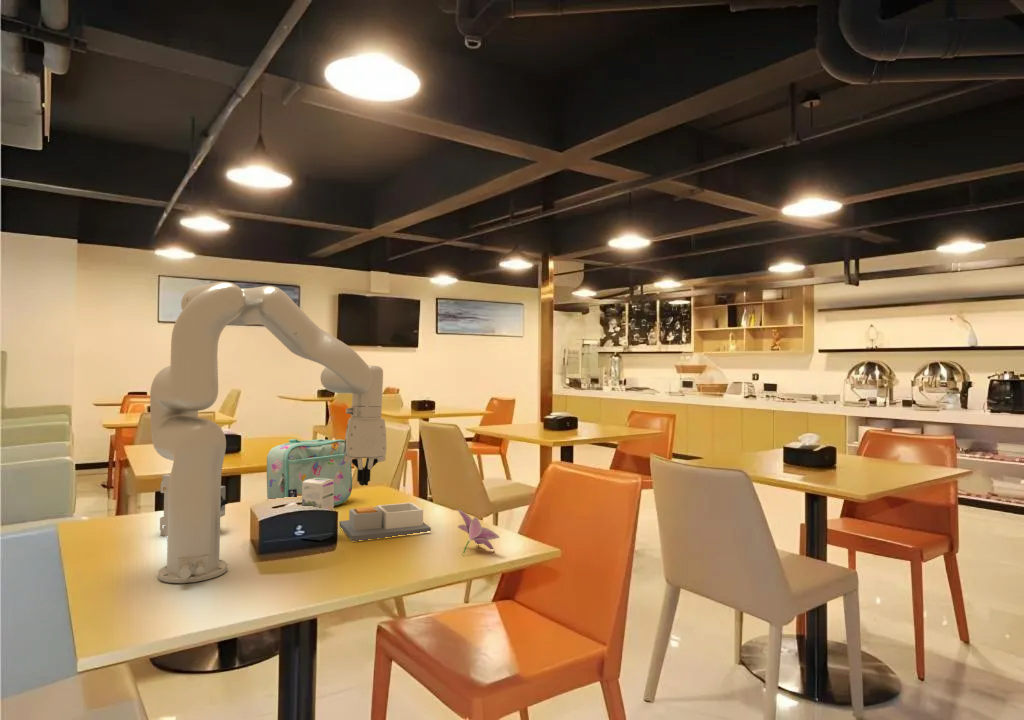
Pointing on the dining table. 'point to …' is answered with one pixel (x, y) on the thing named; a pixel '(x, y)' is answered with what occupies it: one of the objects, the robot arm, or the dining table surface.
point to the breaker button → (364, 510)
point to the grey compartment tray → (385, 522)
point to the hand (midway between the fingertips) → (363, 484)
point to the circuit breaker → (165, 519)
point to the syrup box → (318, 492)
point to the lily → (476, 531)
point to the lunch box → (308, 468)
